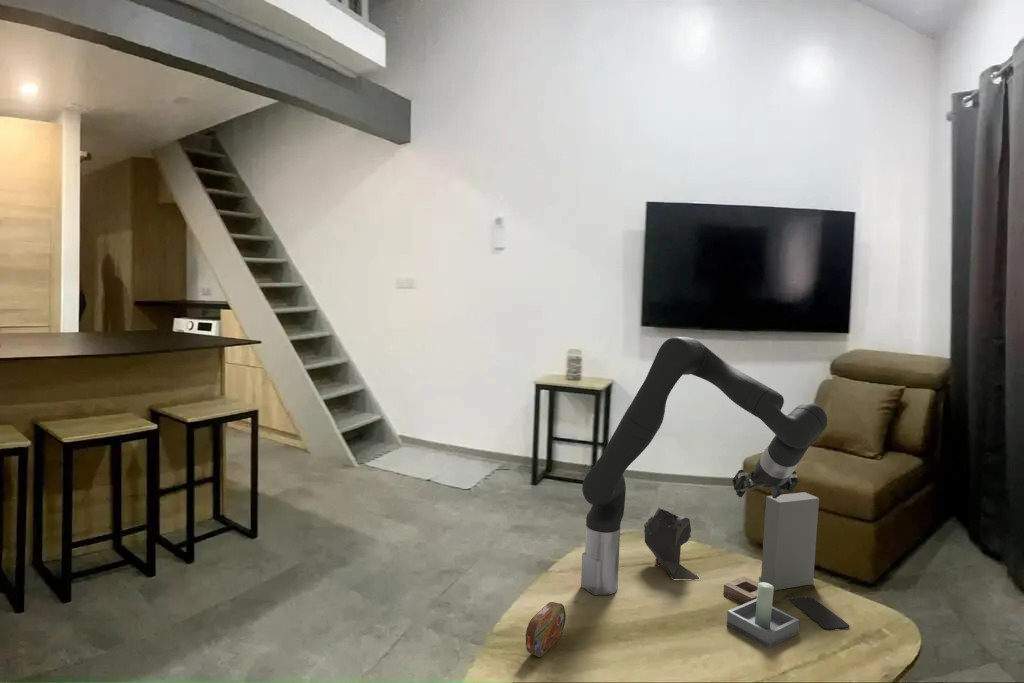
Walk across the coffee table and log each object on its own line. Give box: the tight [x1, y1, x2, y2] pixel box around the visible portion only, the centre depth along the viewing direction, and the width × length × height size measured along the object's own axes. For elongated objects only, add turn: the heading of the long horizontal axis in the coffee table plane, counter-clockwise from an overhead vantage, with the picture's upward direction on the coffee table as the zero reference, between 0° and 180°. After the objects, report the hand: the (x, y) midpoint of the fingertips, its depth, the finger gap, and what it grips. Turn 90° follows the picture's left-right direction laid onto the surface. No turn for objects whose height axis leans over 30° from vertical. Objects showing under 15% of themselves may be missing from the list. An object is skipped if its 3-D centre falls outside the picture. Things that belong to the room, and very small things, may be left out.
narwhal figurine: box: [643, 507, 700, 580], centre depth 180 cm, size 14×15×18 cm
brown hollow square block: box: [723, 576, 759, 604], centre depth 165 cm, size 9×9×2 cm
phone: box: [788, 596, 850, 631], centre depth 157 cm, size 7×1×15 cm
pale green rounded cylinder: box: [755, 581, 774, 629], centre depth 149 cm, size 4×4×10 cm
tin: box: [525, 601, 567, 658], centre depth 140 cm, size 15×3×8 cm, turn 148°
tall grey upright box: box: [758, 491, 820, 592], centre depth 172 cm, size 14×6×25 cm, turn 108°
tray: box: [726, 599, 800, 649], centre depth 149 cm, size 12×12×4 cm
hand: (756, 494), depth 155 cm, fingers open, 8 cm apart
